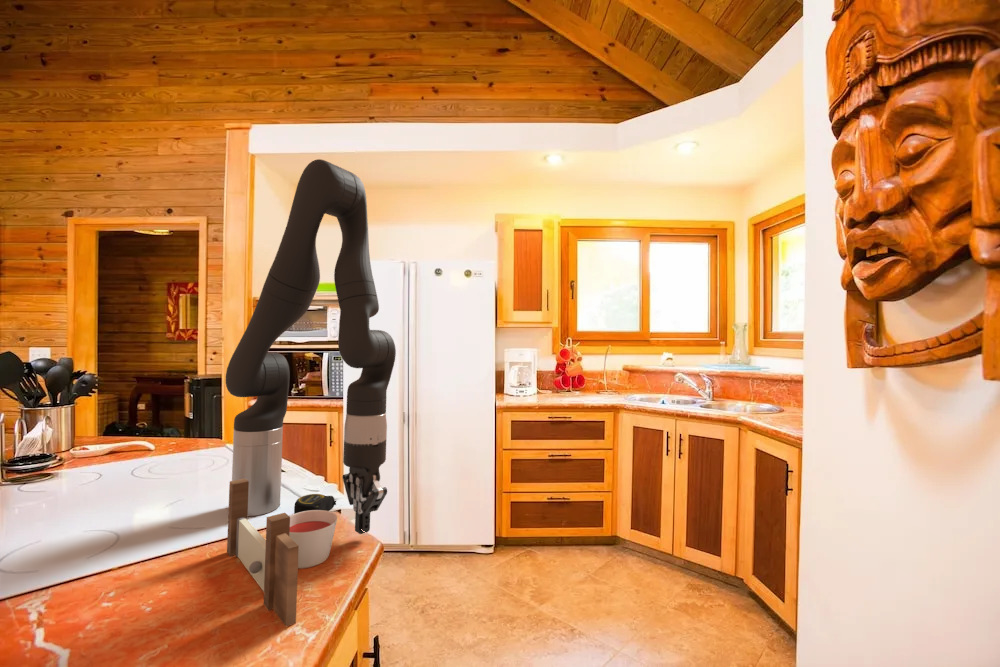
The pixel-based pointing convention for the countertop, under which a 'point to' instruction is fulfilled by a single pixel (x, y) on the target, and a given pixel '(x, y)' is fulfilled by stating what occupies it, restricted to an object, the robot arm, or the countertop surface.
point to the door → (251, 550)
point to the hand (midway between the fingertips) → (362, 531)
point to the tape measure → (314, 503)
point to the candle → (312, 535)
